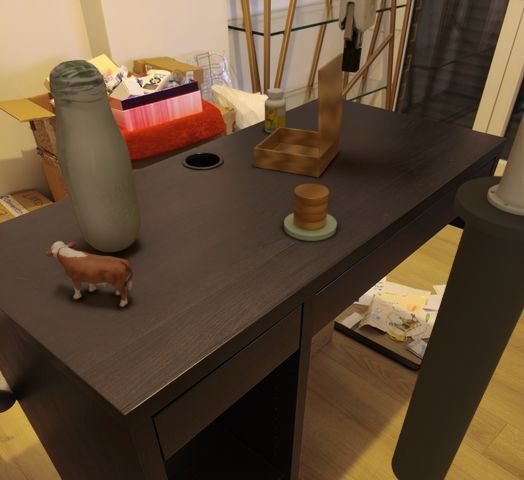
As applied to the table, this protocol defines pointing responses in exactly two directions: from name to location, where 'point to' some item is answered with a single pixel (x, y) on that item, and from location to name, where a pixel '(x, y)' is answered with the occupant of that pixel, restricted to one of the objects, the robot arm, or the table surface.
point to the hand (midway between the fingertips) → (350, 70)
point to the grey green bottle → (94, 157)
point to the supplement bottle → (274, 110)
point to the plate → (310, 234)
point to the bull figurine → (93, 269)
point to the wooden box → (294, 152)
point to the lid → (329, 103)
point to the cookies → (310, 206)
